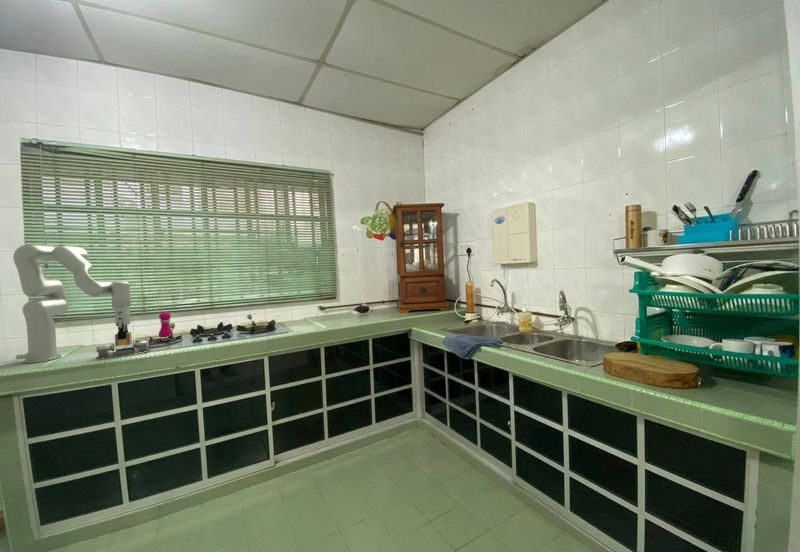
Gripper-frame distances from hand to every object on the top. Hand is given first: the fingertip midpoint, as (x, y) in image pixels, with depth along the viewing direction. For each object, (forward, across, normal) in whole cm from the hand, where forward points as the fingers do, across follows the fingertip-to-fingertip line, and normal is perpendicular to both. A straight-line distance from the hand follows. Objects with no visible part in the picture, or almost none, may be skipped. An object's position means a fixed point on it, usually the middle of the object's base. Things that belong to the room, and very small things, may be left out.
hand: (123, 337), depth 164 cm
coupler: (+4, 0, 0) cm, 4 cm away
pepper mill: (+9, +28, -16) cm, 33 cm away
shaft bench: (+9, 0, 0) cm, 9 cm away
